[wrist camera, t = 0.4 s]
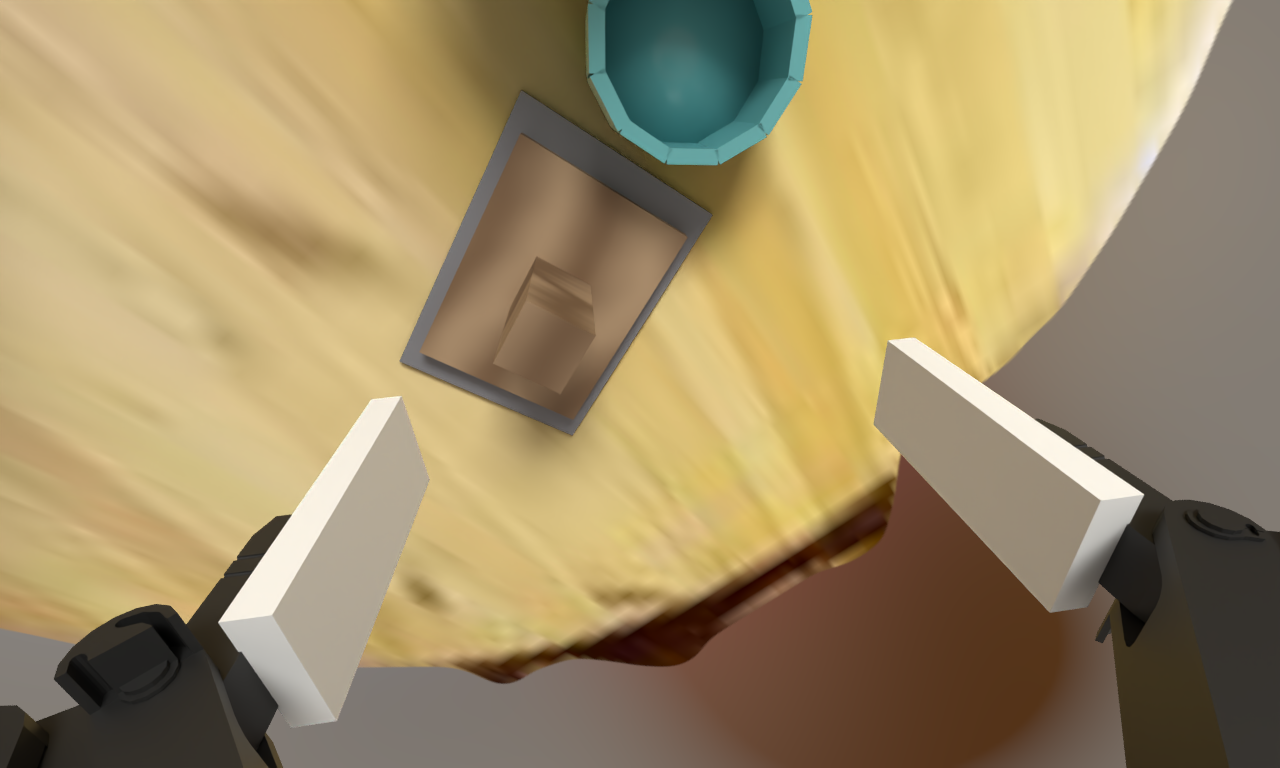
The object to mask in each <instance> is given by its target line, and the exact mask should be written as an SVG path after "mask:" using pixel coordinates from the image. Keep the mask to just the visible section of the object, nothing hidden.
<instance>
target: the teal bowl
mask: <svg viewBox="0 0 1280 768" xmlns="http://www.w3.org/2000/svg"><path fill="white" fill-rule="evenodd" d="M811 12H812V10H811V6H810V3H809V0H589V1H588V7H587V13H586V19H585V41H586V78H587V79H588V80H587V82H588V84H589V86H590V88H591V90H592V92H593V94H594V96H595V98H596V100H597V102H598V104H599V106H600V108H601V110H602V112H603V114H604V115H605V117H606V119H607V121H608V123H609V125H610V127H611V128H612V129H613V130H614V131H616V132H617V133H619V134H620V135H622V136H623V137H625V138H626V139H628V140H629V141H631V142H632V143H634V144H635V145H637V146H638V147H640V148H641V149H643V150H644V151H646V152H647V153H649V154H650V155H652V156H654V157H655V158H657V159H658V160H660V161H661V162H663V163H664V164H665V163H666V164H673V165H718V164H722V163H724V162H725V161H727V160H729V159H730V158H732V157H734V156H736V155H737V154H739V153H741V152H742V151H744V150H746V149H747V148H749V147H751V146H753V145H754V144H756V143H758V142H759V141H761V140H763V139H764V138H766V135H769V134H770V132H771V131H772V129H773V128H774V126H775V125H776V123H777V121H778V120H779V118H780V117H781V115H782V114H783V112H784V110H785V109H786V107H787V106H788V104H789V103H790V101H791V100H792V98H793V96H794V95H795V93H796V92H797V90H798V89H799V87H800V85H801V83H799V82H798V81H803V75H804V68H805V61H806V54H807V48H808V41H809V34H810V28H811V21H812V15H808V14H809V13H811Z"/></svg>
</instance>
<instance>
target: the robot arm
mask: <svg viewBox="0 0 1280 768" xmlns="http://www.w3.org/2000/svg"><path fill="white" fill-rule="evenodd" d="M874 426H875V427H876V428H877V429H878V430H879V431H880V432H881V433H882V434H883V435H884V436H885V437H886V438H887V439H888V440H889V442H890V443H891V444H892V445H893V446H894V447H895V448H896V449H897V450H898V451H899V452H900V453H901V454H902V455H903V456H904V458H905V459H906V460H907V461H908V462H909V463H910V464H911V465H912V466H913V467H914V468H915V469H916V470H917V471H918V472H919V473H920V475H922V477H923V478H924V479H925V480H926V481H927V482H928V483H929V484H930V485H931V486H932V487H933V488H934V489H935V490H936V492H937V493H938V494H939V495H940V496H941V497H942V498H943V499H944V500H945V501H946V502H947V503H948V504H949V505H950V507H951V508H952V509H953V510H954V511H955V512H956V513H957V514H958V515H959V516H960V517H961V518H962V519H963V520H964V522H965V523H966V524H967V525H968V526H969V527H970V528H971V529H972V530H973V531H974V532H975V533H976V534H977V535H978V536H979V537H980V539H981V540H983V542H984V543H985V544H986V545H987V546H988V547H989V548H990V549H991V550H992V551H993V552H994V554H995V555H997V557H998V558H999V559H1000V560H1001V561H1002V562H1003V563H1004V564H1005V565H1006V566H1007V567H1008V568H1009V570H1010V571H1012V573H1013V574H1014V575H1015V576H1016V577H1017V578H1018V579H1019V580H1020V581H1021V582H1022V583H1023V584H1024V586H1025V587H1026V588H1027V589H1028V590H1029V591H1030V592H1031V593H1032V594H1033V595H1034V596H1035V597H1036V598H1037V599H1038V600H1039V602H1040V603H1042V605H1043V606H1044V607H1045V608H1046V609H1047V610H1048V611H1049V612H1050V613H1051V612H1057V611H1064V610H1070V609H1076V608H1083V607H1088V605H1089V603H1090V601H1091V599H1092V597H1093V595H1094V593H1095V591H1096V589H1097V587H1098V585H1099V584H1101V585H1102V586H1103V587H1104V588H1105V589H1106V590H1107V591H1108V592H1109V593H1111V594H1112V595H1113V596H1114V597H1115V598H1116V599H1115V600H1114V602H1113V604H1112V606H1111V608H1110V610H1109V612H1108V613H1107V615H1106V617H1105V619H1104V621H1103V623H1102V625H1101V626H1100V628H1099V630H1098V632H1097V636H1096V639H1095V641H1098V642H1101V643H1103V642H1104V640H1105V638H1106V636H1107V634H1110V633H1112V641H1113V650H1114V659H1115V668H1116V677H1117V686H1118V694H1119V703H1120V713H1121V722H1122V731H1123V740H1124V748H1125V757H1126V767H1127V768H1280V532H1274V531H1266V530H1265V529H1263V528H1262V527H1260V526H1259V525H1257V524H1256V523H1255V522H1253V521H1252V520H1250V519H1249V518H1246V517H1244V516H1242V515H1240V514H1238V513H1236V512H1234V511H1232V510H1229V509H1226V508H1223V507H1220V506H1217V505H1214V504H1211V503H1206V502H1200V501H1194V500H1175V501H1172V500H1170V499H1169V498H1167V497H1166V496H1164V495H1163V494H1161V493H1160V492H1158V491H1157V490H1155V489H1154V488H1152V487H1151V486H1149V485H1148V484H1146V483H1145V482H1143V481H1142V480H1140V479H1139V478H1137V477H1136V476H1134V475H1133V474H1131V473H1130V472H1128V471H1127V470H1125V469H1123V468H1122V467H1121V466H1119V465H1118V464H1116V463H1115V462H1113V461H1111V460H1110V459H1105V458H1104V455H1102V454H1101V453H1099V452H1098V451H1096V450H1095V449H1093V448H1092V447H1087V444H1086V443H1084V442H1083V441H1081V440H1080V439H1078V438H1077V437H1075V436H1074V435H1072V434H1071V433H1069V432H1068V431H1066V430H1064V429H1062V428H1059V427H1057V426H1055V425H1052V424H1050V423H1047V422H1045V421H1043V420H1040V419H1033V418H1031V417H1030V416H1029V415H1027V414H1026V413H1024V412H1022V411H1021V410H1020V409H1018V408H1017V407H1015V406H1014V405H1012V404H1011V403H1010V402H1008V401H1007V400H1005V399H1004V398H1002V397H1001V396H999V395H998V394H996V393H995V392H993V391H992V390H990V389H989V388H988V387H986V386H985V385H983V384H982V383H980V382H979V381H977V380H976V379H974V378H973V377H971V376H970V375H969V374H967V373H966V372H964V371H963V370H961V369H960V368H958V367H957V366H955V365H954V364H952V363H951V362H950V361H948V360H947V359H945V358H944V357H942V356H941V355H939V354H938V353H936V352H935V351H933V350H932V349H931V348H929V347H928V346H926V345H925V344H923V343H922V342H920V341H919V340H917V339H916V338H906V339H897V340H888V343H887V348H886V354H885V360H884V366H883V372H882V378H881V384H880V390H879V395H878V401H877V407H876V413H875V419H874ZM429 480H430V479H429V476H428V473H427V470H426V467H425V464H424V461H423V458H422V455H421V452H420V449H419V446H418V443H417V440H416V437H415V434H414V431H413V428H412V425H411V422H410V419H409V416H408V413H407V410H406V407H405V404H404V401H403V398H402V396H397V397H388V398H380V399H371V401H370V402H369V404H368V405H367V407H366V408H365V410H364V411H363V412H362V414H361V415H360V417H359V418H358V420H357V421H356V423H355V424H354V426H353V427H352V428H351V430H350V431H349V433H348V434H347V436H346V437H345V439H344V440H343V442H342V443H341V444H340V446H339V447H338V449H337V450H336V452H335V453H334V455H333V456H332V458H331V459H330V460H329V462H328V463H327V465H326V466H325V468H324V469H323V471H322V472H321V474H320V475H319V476H318V478H317V479H316V481H315V482H314V484H313V485H312V487H311V488H310V490H309V491H308V492H307V494H306V495H305V497H304V498H303V500H302V501H301V503H300V504H299V506H298V507H297V508H296V510H295V511H294V513H293V514H292V515H284V516H276V517H275V518H274V519H273V520H271V521H270V522H269V523H268V524H266V525H265V526H264V527H263V528H262V529H260V530H259V531H258V532H257V533H255V534H254V535H253V536H252V537H251V539H250V540H249V541H248V543H247V544H246V545H245V547H244V548H243V549H242V551H241V552H240V553H239V555H238V556H237V560H236V561H233V563H232V564H231V565H230V567H229V568H228V569H227V571H226V572H225V574H224V578H221V579H220V580H219V582H218V583H217V584H216V586H215V587H214V588H213V590H212V591H211V592H210V594H209V595H208V596H207V598H206V599H205V600H204V602H203V603H202V604H201V606H200V607H199V608H198V610H197V611H196V612H195V614H194V615H193V616H192V618H191V619H190V620H189V622H188V623H187V624H185V623H184V621H183V620H182V619H181V617H180V616H179V615H178V613H177V612H176V611H175V610H174V609H173V608H172V607H171V606H168V605H159V604H154V605H150V606H145V607H140V608H136V609H134V610H131V611H129V612H126V613H124V614H122V615H119V616H117V617H115V618H113V619H111V620H110V621H108V622H106V623H105V624H103V625H101V626H100V627H98V628H96V629H95V630H93V631H92V632H90V633H89V634H88V635H87V636H86V637H84V638H83V639H82V640H81V641H80V642H78V643H77V644H76V645H75V646H74V647H72V649H71V650H70V651H69V652H68V653H67V655H66V656H65V657H64V659H63V660H62V661H61V662H60V663H59V665H58V668H57V671H56V674H55V677H54V680H55V681H56V682H57V683H58V684H59V685H60V686H61V687H62V688H63V689H64V690H65V691H66V692H67V693H68V694H69V695H70V696H71V697H72V698H73V699H74V700H75V701H76V702H77V703H78V704H79V705H78V706H76V707H73V708H71V709H68V710H65V711H63V712H60V713H57V714H55V715H52V716H49V717H47V718H44V719H42V720H39V721H36V722H35V721H34V720H33V719H32V718H31V717H30V716H29V715H28V714H27V713H25V712H24V711H23V710H22V709H20V708H19V707H18V706H17V705H16V706H0V768H283V766H282V764H281V761H280V759H279V756H278V754H277V751H276V749H275V746H274V744H273V742H272V740H271V739H270V738H269V736H268V735H267V734H266V730H267V729H268V727H269V725H270V723H271V721H272V718H273V716H274V714H275V712H276V710H277V708H278V710H279V711H280V712H281V714H282V715H283V717H284V718H285V720H286V721H287V723H288V724H289V725H290V727H291V728H293V727H299V726H307V725H313V724H319V723H326V722H333V721H337V719H338V717H339V714H340V711H341V709H342V706H343V704H344V701H345V698H346V696H347V693H348V690H349V688H350V685H351V682H352V680H353V677H354V675H355V672H356V670H357V667H358V665H359V662H360V659H361V657H362V654H363V652H364V649H365V646H366V644H367V641H368V639H369V636H370V633H371V631H372V628H373V626H374V623H375V620H376V618H377V615H378V613H379V610H380V607H381V605H382V602H383V600H384V597H385V594H386V592H387V589H388V587H389V584H390V581H391V579H392V576H393V574H394V571H395V568H396V566H397V563H398V561H399V558H400V555H401V553H402V550H403V548H404V545H405V542H406V540H407V537H408V535H409V532H410V529H411V527H412V524H413V522H414V519H415V516H416V514H417V511H418V509H419V506H420V503H421V501H422V498H423V496H424V493H425V490H426V488H427V485H428V483H429Z"/></svg>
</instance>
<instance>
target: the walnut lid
mask: <svg viewBox="0 0 1280 768" xmlns="http://www.w3.org/2000/svg"><path fill="white" fill-rule="evenodd" d="M687 238H688V237H687V236H686V235H685V234H684V233H683V232H681V231H679V230H678V229H676V228H675V227H673V226H671V225H670V224H668V223H667V222H665V221H663V220H662V219H660V218H659V217H657V216H655V215H654V214H652V213H651V212H649V211H647V210H646V209H644V208H643V207H641V206H639V205H638V204H636V203H634V202H633V201H631V200H630V199H628V198H626V197H625V196H623V195H622V194H620V193H618V192H617V191H615V190H614V189H612V188H610V187H609V186H607V185H606V184H604V183H602V182H601V181H599V180H598V179H596V178H594V177H593V176H591V175H590V174H588V173H586V172H585V171H583V170H582V169H580V168H578V167H577V166H575V165H573V164H572V163H570V162H569V161H567V160H565V159H564V158H562V157H561V156H559V155H557V154H556V153H554V152H553V151H551V150H549V149H548V148H546V147H545V146H543V145H541V144H540V143H538V142H537V141H535V140H533V139H532V138H530V137H529V136H527V135H525V134H524V133H520V135H519V137H518V140H517V142H516V144H515V146H514V148H513V150H512V153H511V155H510V157H509V159H508V161H507V163H506V166H505V168H504V170H503V172H502V174H501V176H500V179H499V181H498V183H497V185H496V187H495V189H494V192H493V194H492V196H491V198H490V200H489V202H488V204H487V207H486V209H485V211H484V213H483V215H482V217H481V220H480V222H479V224H478V226H477V228H476V230H475V233H474V235H473V237H472V239H471V241H470V243H469V246H468V248H467V250H466V252H465V254H464V256H463V259H462V261H461V263H460V265H459V267H458V269H457V272H456V274H455V276H454V278H453V280H452V282H451V284H450V287H449V289H448V291H447V293H446V295H445V297H444V300H443V302H442V304H441V306H440V308H439V310H438V313H437V315H436V317H435V319H434V321H433V323H432V326H431V328H430V330H429V332H428V334H427V336H426V339H425V341H424V343H423V345H422V347H421V349H420V353H422V354H424V355H427V356H429V357H431V358H434V359H436V360H438V361H440V362H443V363H445V364H447V365H449V366H452V367H454V368H456V369H459V370H461V371H463V372H465V373H468V374H470V375H472V376H474V377H477V378H479V379H481V380H484V381H486V382H488V383H490V384H493V385H495V386H497V387H499V388H502V389H504V390H506V391H509V392H511V393H513V394H515V395H518V396H520V397H522V398H524V399H527V400H529V401H531V402H534V403H536V404H538V405H540V406H543V407H545V408H547V409H550V410H552V411H554V412H556V413H559V414H561V415H563V416H565V417H568V418H570V419H572V420H573V419H574V418H575V416H576V415H577V413H578V411H579V410H580V408H581V407H582V405H583V403H584V402H585V400H586V399H587V397H588V395H589V394H590V392H591V391H592V389H593V388H594V386H595V384H596V383H597V381H598V380H599V378H600V376H601V375H602V373H603V372H604V370H605V368H606V367H607V365H608V364H609V362H610V360H611V359H612V357H613V356H614V354H615V352H616V351H617V349H618V348H619V346H620V344H621V343H622V341H623V340H624V338H625V337H626V335H627V333H628V332H629V330H630V329H631V327H632V325H633V324H634V322H635V321H636V319H637V317H638V316H639V314H640V313H641V311H642V309H643V308H644V306H645V305H646V303H647V301H648V300H649V298H650V297H651V295H652V294H653V292H654V290H655V289H656V287H657V286H658V284H659V282H660V281H661V279H662V278H663V276H664V274H665V273H666V271H667V270H668V268H669V266H670V265H671V263H672V262H673V260H674V258H675V257H676V255H677V254H678V252H679V250H680V249H681V247H682V246H683V244H684V243H685V241H686V239H687Z"/></svg>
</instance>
